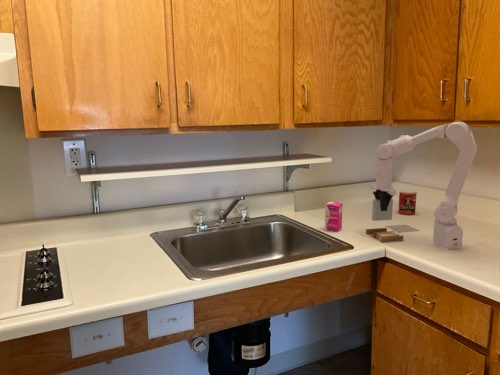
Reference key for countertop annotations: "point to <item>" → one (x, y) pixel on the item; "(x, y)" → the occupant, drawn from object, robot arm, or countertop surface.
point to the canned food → (407, 202)
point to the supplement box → (333, 216)
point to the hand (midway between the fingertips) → (382, 210)
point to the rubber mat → (402, 228)
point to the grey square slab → (379, 214)
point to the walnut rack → (383, 239)
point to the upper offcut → (387, 234)
